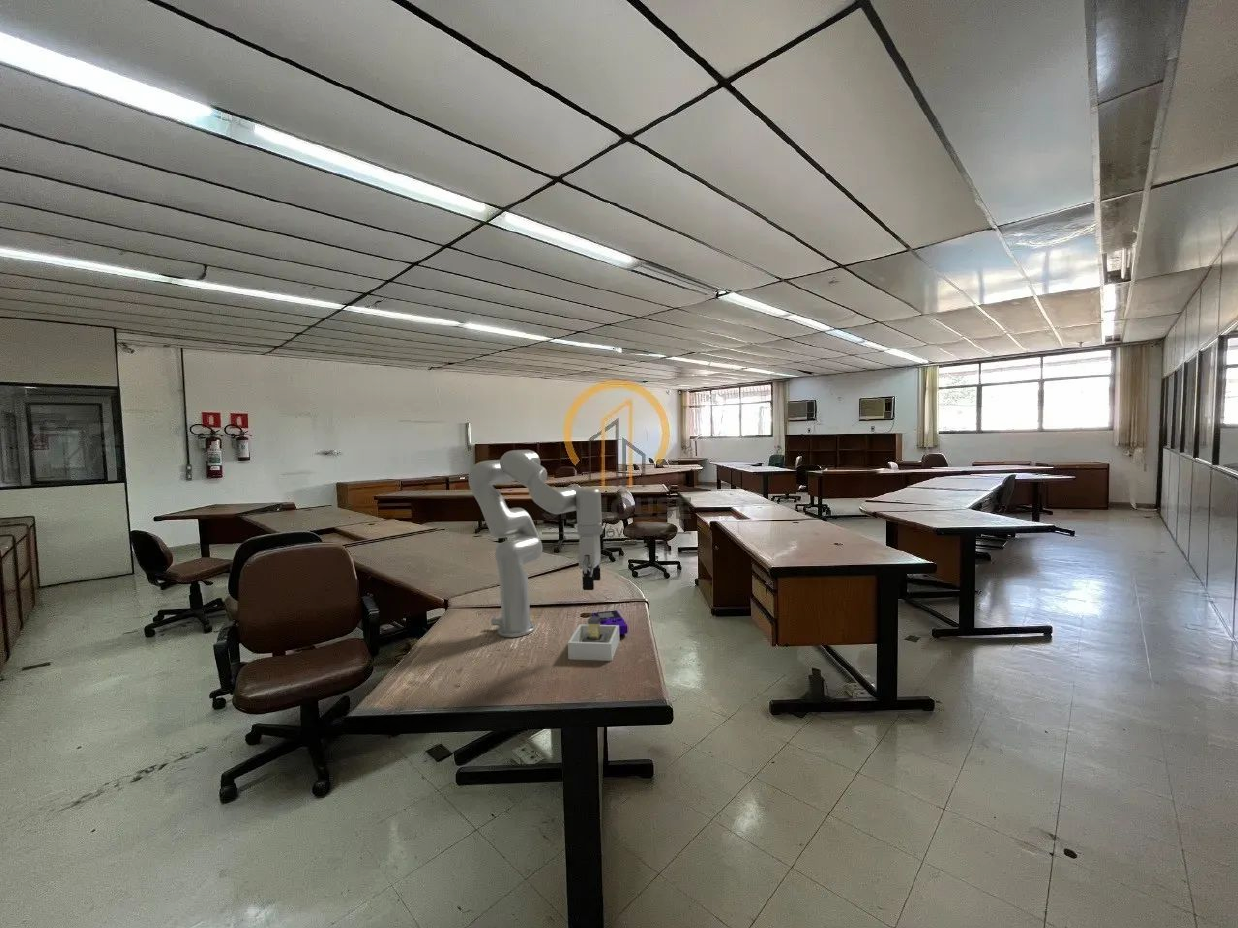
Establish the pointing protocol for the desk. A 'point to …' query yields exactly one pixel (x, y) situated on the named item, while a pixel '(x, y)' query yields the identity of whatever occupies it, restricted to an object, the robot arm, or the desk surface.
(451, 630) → the desk surface
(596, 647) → the box
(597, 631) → the peg
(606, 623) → the handheld gaming console
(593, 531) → the robot arm
